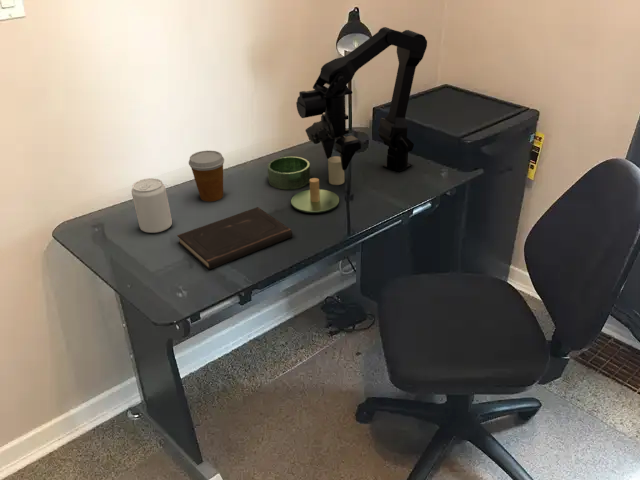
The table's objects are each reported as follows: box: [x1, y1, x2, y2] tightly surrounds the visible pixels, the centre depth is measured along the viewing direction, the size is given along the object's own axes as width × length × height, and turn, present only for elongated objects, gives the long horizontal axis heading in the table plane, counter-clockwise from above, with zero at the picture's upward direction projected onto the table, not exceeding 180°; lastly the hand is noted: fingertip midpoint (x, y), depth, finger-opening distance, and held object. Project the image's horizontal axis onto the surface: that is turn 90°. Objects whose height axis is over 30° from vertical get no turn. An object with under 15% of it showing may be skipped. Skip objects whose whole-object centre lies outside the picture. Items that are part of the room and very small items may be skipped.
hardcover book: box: [177, 206, 293, 271], centre depth 151 cm, size 16×23×2 cm
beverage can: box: [131, 177, 173, 234], centre depth 154 cm, size 8×8×12 cm
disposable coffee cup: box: [188, 150, 225, 202], centre depth 168 cm, size 10×10×12 cm
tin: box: [266, 156, 312, 191], centre depth 179 cm, size 12×12×5 cm
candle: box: [327, 155, 345, 186], centre depth 177 cm, size 5×5×7 cm
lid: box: [290, 177, 340, 214], centre depth 166 cm, size 13×13×7 cm
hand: (336, 164), depth 176 cm, fingers open, 9 cm apart
